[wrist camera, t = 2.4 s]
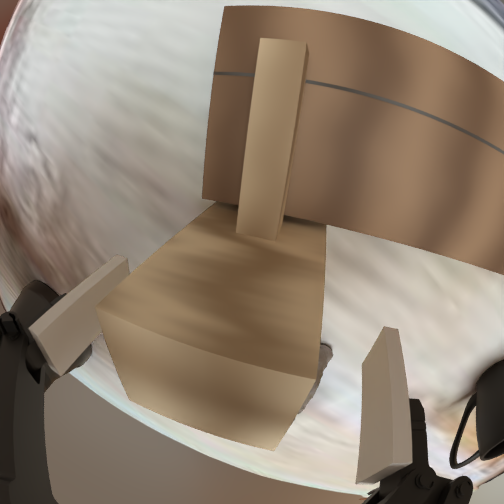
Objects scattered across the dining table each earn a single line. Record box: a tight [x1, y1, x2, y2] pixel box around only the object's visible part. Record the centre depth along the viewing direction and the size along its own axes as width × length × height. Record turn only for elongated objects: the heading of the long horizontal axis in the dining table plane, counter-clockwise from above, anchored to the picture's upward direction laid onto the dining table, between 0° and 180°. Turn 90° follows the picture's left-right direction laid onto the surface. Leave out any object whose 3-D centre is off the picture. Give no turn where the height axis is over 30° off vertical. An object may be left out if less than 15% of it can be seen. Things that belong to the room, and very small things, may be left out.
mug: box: [449, 360, 504, 469], centre depth 15 cm, size 8×12×10 cm
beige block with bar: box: [95, 38, 326, 451], centre depth 11 cm, size 7×16×12 cm, turn 173°
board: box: [202, 6, 504, 275], centre depth 12 cm, size 28×12×2 cm, turn 83°
